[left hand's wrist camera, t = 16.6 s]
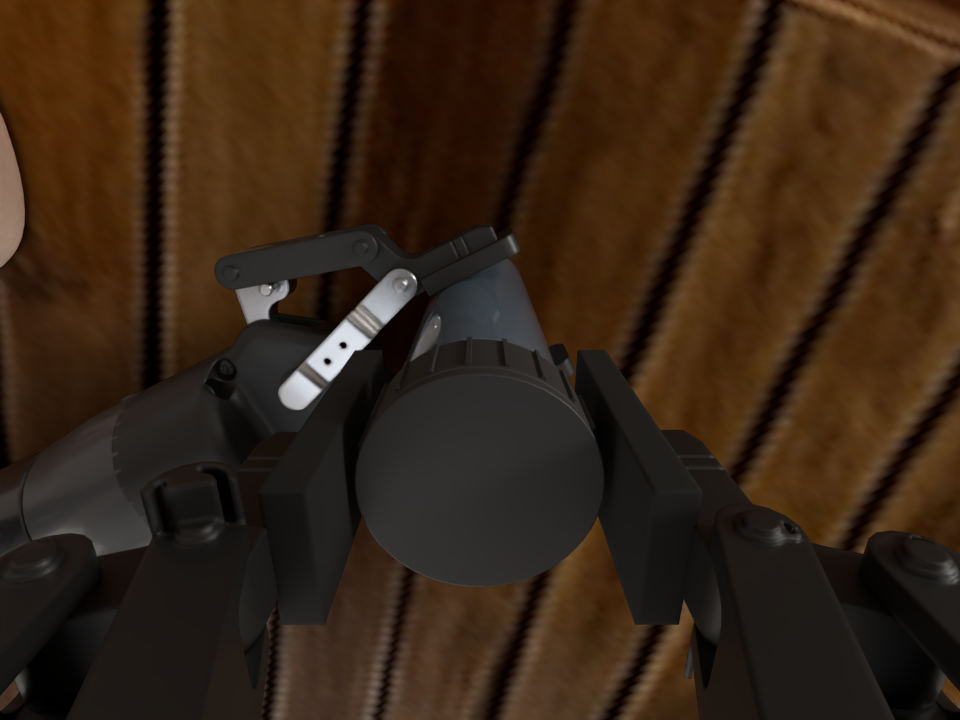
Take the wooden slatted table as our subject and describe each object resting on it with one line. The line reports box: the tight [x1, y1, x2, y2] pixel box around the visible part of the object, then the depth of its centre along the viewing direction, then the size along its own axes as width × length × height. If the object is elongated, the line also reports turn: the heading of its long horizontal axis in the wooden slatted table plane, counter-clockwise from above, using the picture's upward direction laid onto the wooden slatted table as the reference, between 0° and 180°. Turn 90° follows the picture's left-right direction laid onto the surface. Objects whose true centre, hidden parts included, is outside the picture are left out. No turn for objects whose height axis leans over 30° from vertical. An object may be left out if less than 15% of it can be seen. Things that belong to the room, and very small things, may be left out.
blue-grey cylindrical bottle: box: [406, 259, 556, 367], centre depth 18 cm, size 5×5×16 cm
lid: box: [354, 336, 605, 587], centre depth 11 cm, size 5×5×2 cm
